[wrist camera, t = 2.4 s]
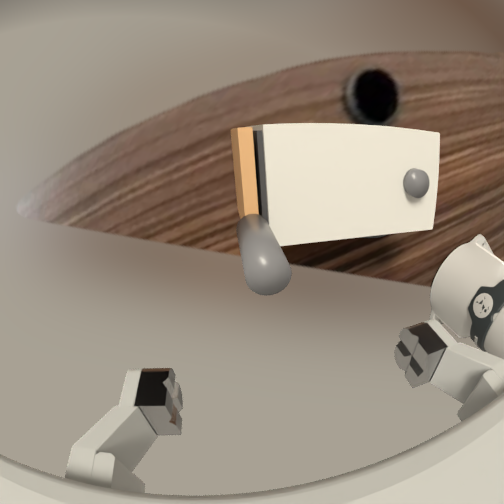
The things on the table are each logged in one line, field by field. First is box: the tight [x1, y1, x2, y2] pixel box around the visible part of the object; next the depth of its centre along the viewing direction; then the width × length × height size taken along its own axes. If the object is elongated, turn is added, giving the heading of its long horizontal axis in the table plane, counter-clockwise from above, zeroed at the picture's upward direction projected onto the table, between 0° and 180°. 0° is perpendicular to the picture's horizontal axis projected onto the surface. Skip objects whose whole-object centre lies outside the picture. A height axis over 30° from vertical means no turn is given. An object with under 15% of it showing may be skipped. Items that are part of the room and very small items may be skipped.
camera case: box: [249, 123, 440, 246], centre depth 25 cm, size 16×10×13 cm, turn 94°
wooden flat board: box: [231, 127, 291, 295], centre depth 22 cm, size 2×9×19 cm, turn 4°
